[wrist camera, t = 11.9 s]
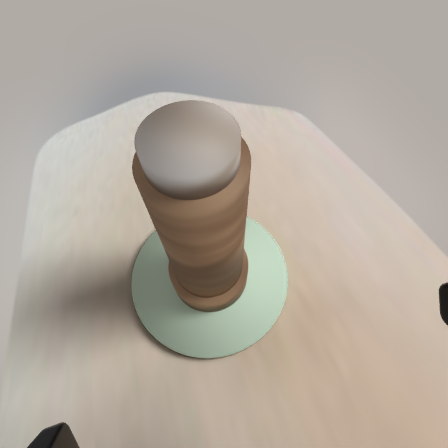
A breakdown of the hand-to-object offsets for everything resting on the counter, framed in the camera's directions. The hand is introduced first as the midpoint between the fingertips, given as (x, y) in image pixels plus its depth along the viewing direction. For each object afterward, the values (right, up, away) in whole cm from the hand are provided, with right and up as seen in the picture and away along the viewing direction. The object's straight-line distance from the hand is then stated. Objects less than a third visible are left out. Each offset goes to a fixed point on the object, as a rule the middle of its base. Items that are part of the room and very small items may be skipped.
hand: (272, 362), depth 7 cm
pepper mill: (-2, 0, +15) cm, 15 cm away
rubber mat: (-2, -1, +15) cm, 16 cm away
